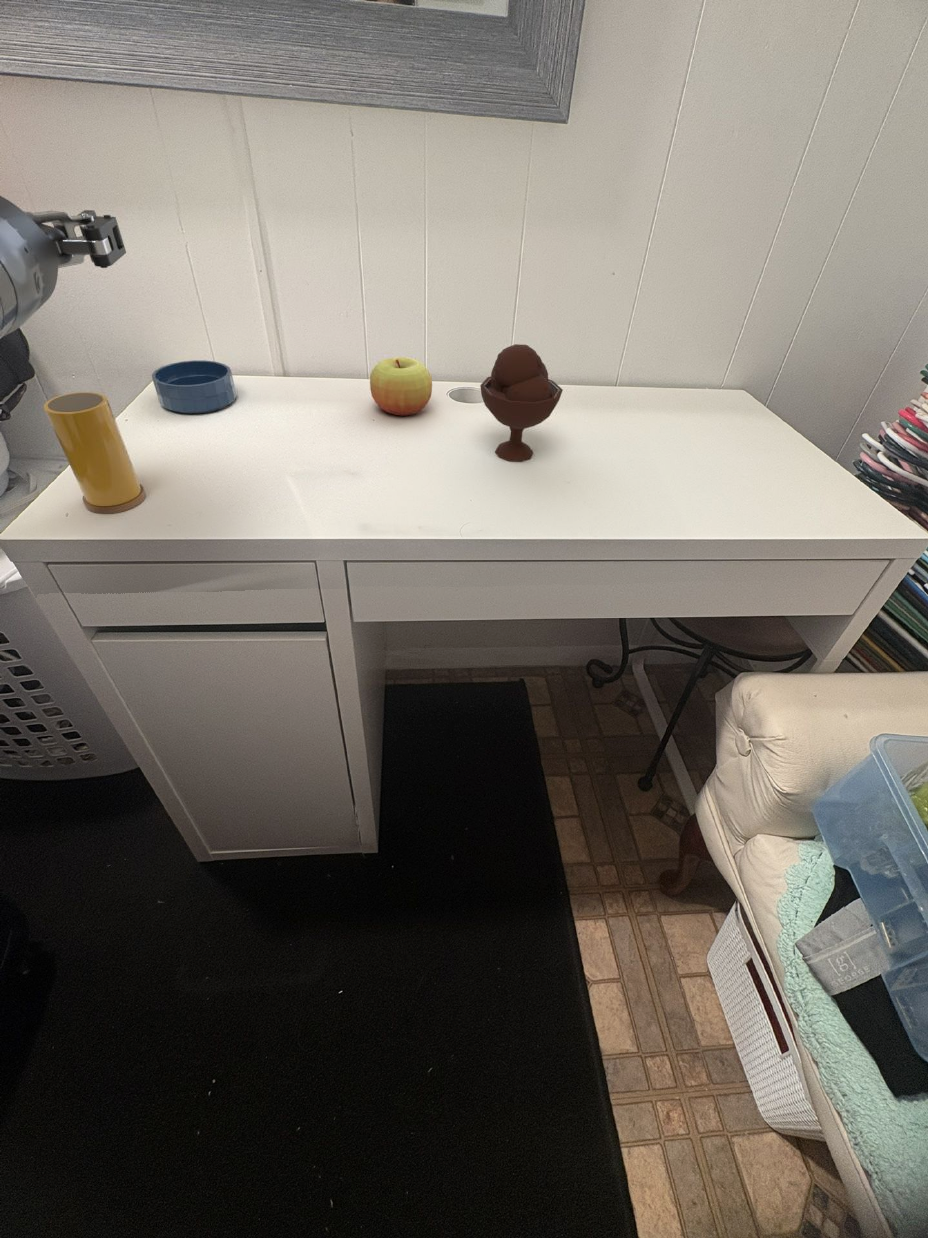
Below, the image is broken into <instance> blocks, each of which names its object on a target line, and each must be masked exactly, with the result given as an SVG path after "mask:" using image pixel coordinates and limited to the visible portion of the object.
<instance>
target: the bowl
mask: <svg viewBox="0 0 928 1238" xmlns="http://www.w3.org/2000/svg"><path fill="white" fill-rule="evenodd" d="M232 372H233V371H232V369H231V367H230V366H228V365H227V364H225V363H223V362H219V361H215V360H214V361H213V360H198V359H197V360H195V359H194V360H183V361H178V362H171V363H169V364H166V365H163V366H160V367H159V368H157V369H155V370H154V371H153V372H152V373H151V379H152V382H153V383H152V384H153V386H154V389H155V392H156V395H157V398H158V401H159V404H160V405H161V406H162V407H163V408H164V409H167V410H169V411H172V412H175V413H178V414H179V413H180V414H187V415H197V414H198V415H199V414H207V413H212V412H216V411H220V410H222V409H224V408H226V407H228V406H229V405H230V404H231V403H232V402H234V401H235V400H236V398H237V392H236V391H237V390H236V387H235V381H234V377H233V373H232Z"/></svg>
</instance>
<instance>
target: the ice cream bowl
mask: <svg viewBox="0 0 928 1238" xmlns="http://www.w3.org/2000/svg"><path fill="white" fill-rule="evenodd" d="M563 391H564V389H563V388H562V387H560V385H558V383H556V382H555V380H553V379H549V372H548V370H547V366H546V364H545V363H544V362H543V361H542V359H541V356H540V355H539V354H538V353H537V351H536V350H535V349H534V348H532V347H530V346H529V345H528V344H521V343H519V344H517V343H516V344H512V345H510V346H508V347H505V348H503V349H502V350H501V351H500V352H499V353H498V354H497V357H496V360H495V362H494V365H493V367H492V370H491V373H490V376H487V377H486V378H485V379H484V381H482V383H481V384H480V395H481V399H482V401H483V404H484V406H485V407H486V408H487V410H488V411H489V412H490V413H491V414H492V416H493V417H494V418H495V419H496V421H498V422H499V423H500V424H501V425H503V426H505V427H509V430H510V433H509V440H507V441H504V442H501V443H500V444H499V445H498V446H497V447H496V448H495V451H494V453H495V454H496V455H497V457H498V458H500V459H502V460H505V461H508V462H516V463H522V462H525V461H528V460H531V459H532V457H533V455H534V451H533V449H532V448H531V447H530V446H529V445H528V444H527V443H525V442H523V432H524V430H525V429H529V428H532V427H535V426H537V425H539V424H542V423H543V422H544V421H546V420H547V419H548V418H549V417H550V416H551V414H552V413H553V411H554V410H555V408H556V406H557V405H558V403H559V402H560V399H561V397H562V394H563Z"/></svg>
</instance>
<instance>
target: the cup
mask: <svg viewBox="0 0 928 1238" xmlns="http://www.w3.org/2000/svg"><path fill="white" fill-rule="evenodd" d="M43 410H44V412H45V414H46V416H47V418H48V420H49V423H50V425H51V427H52V429H53V431H54V433H55V436H56V439H57V440H58V442H59V445H60V447H61V449H62V451H63V454H64V456H65V458H66V460H67V463H68V465H69V466H70V468H71V471H72V473H73V475H74V477H75V480H76V483H77V484H78V486H79V489H80V491H81V493H82V495H84V497H85V499H86V501H87V502H88V503H89V504H92V505H95V506H115V505H120V504H123V503H126V502H129V501H131V500H133V499H134V498H136V497H137V496H138V495H139V494H140V492H141V486H140V484H141V483H140V482H139V479H138V476H137V472H136V471H135V468H134V465H133V462H132V460H131V457H130V455H129V452H128V449H127V446H126V444H125V441H124V439H123V436H122V434H121V430H120V429H119V425H118V423H117V421H116V418H115V414H114V412H113V410H112V408H111V405H110V401H109V399H108V397H107V396H106V395H104V394H103V393H101V392H100V393H99V392H94V391H79V392H78V391H77V392H70V393H64V394H61V395H58V396H55V397H52V398H50V399H49V400H47V401H46V402H45V403H44V404H43Z"/></svg>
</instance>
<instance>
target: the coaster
mask: <svg viewBox="0 0 928 1238" xmlns="http://www.w3.org/2000/svg"><path fill="white" fill-rule="evenodd" d="M139 484H140V486H141V492H140V494H139V495H138V496H137V497H136V498H134V499H133V500H131V501H129V502H126V503H123V504H120V505H115V506H95V505H92V504H89V503H88V502H87V501H86V499H85V497H84V495H83V494H82V495H83V496H82V503H83V504H84V506H85V507H84V508H86V509H87V510H88V511H89V512H91V513H94V514H101V515H110V514H119V513H122V512H127V511H129V510H131V509H134V508H136V507H138V506H139V505H140V504H141V503H143V502H144V500H145V499H146V496H147V494H146V490H145V488H144V486H143V485H142V484H141V483H139Z"/></svg>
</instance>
